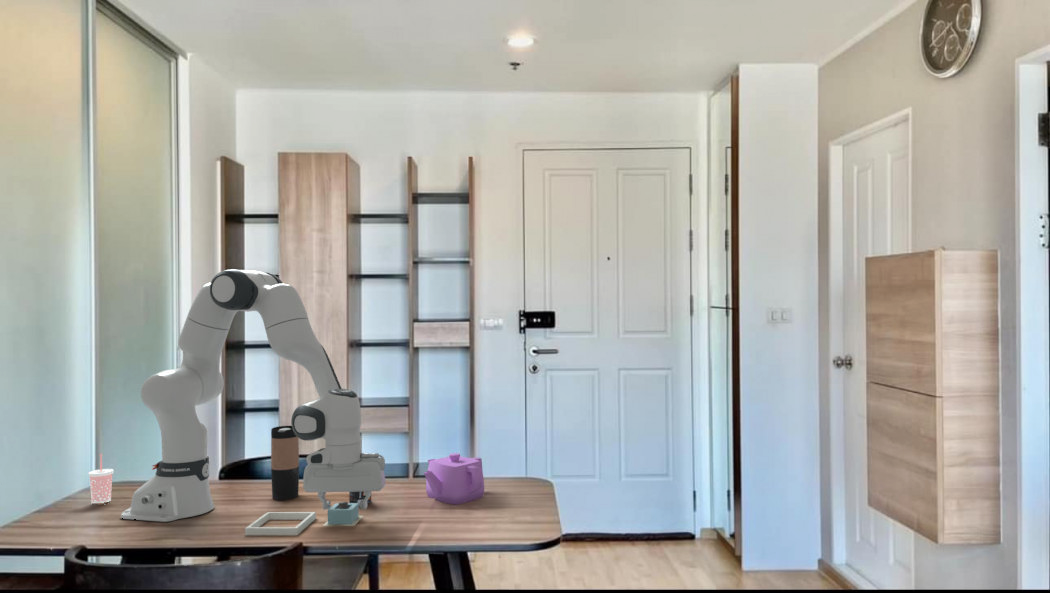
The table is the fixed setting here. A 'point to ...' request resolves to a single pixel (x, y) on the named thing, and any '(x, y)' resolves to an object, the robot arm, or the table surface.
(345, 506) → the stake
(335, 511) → the collar
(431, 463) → the teakettle
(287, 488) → the travel mug
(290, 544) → the table surface
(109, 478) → the beverage cup
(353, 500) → the supplement bottle
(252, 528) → the white square frame
